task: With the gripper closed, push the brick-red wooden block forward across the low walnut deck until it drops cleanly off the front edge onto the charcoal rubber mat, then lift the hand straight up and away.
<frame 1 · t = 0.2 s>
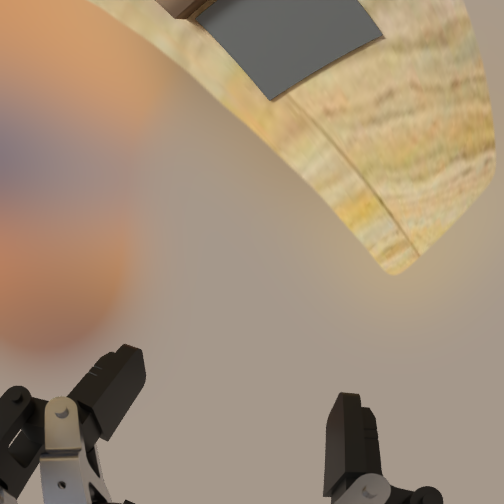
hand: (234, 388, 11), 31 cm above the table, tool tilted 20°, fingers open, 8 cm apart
mat: (287, 18, 24), on the table
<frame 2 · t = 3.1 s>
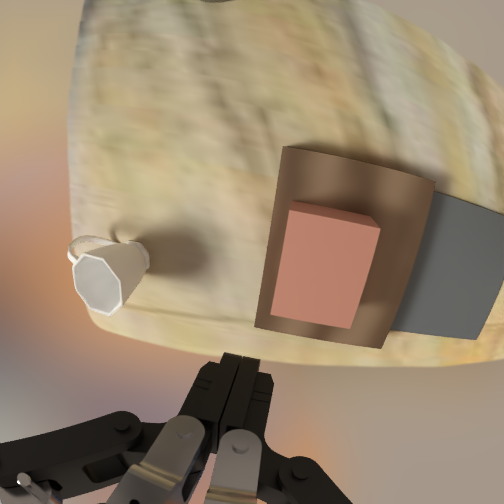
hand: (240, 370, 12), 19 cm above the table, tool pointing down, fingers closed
cup: (126, 250, 34), on the table
block: (321, 256, 26), point 3 cm above the table, touching deck
mat: (460, 275, 27), on the table
deck: (340, 249, 29), on the table
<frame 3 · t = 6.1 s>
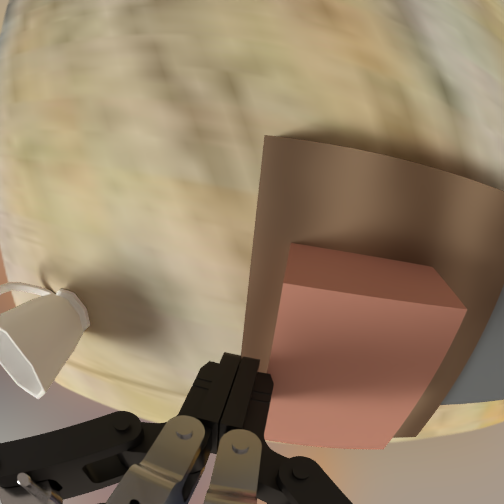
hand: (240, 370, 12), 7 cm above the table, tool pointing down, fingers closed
cup: (61, 300, 22), on the table
block: (343, 336, 14), point 3 cm above the table, touching deck, gripper
deck: (368, 310, 17), on the table
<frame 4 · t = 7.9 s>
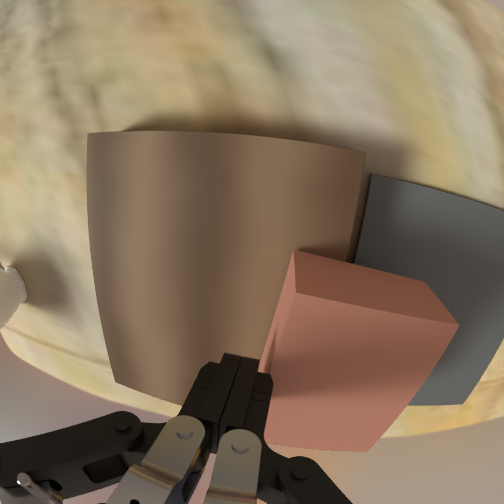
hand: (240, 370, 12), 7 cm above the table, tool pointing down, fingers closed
cup: (9, 276, 24), on the table
block: (334, 342, 15), point 3 cm above the table, touching deck, gripper
mat: (438, 319, 16), on the table
deck: (212, 284, 18), on the table
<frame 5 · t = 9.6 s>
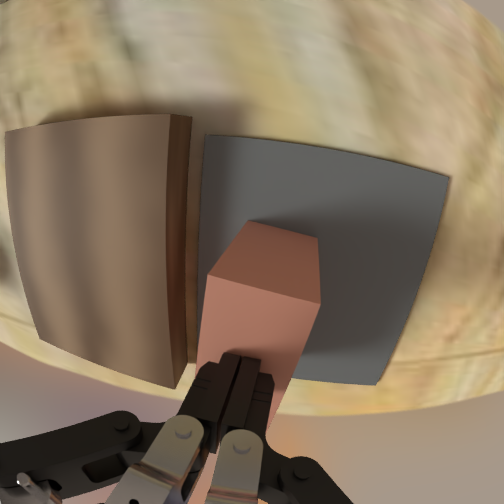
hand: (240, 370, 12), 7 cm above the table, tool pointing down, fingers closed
block: (218, 320, 15), point 4 cm above the table, tilted 88°, touching gripper, mat
mat: (311, 282, 18), on the table
deck: (97, 246, 19), on the table
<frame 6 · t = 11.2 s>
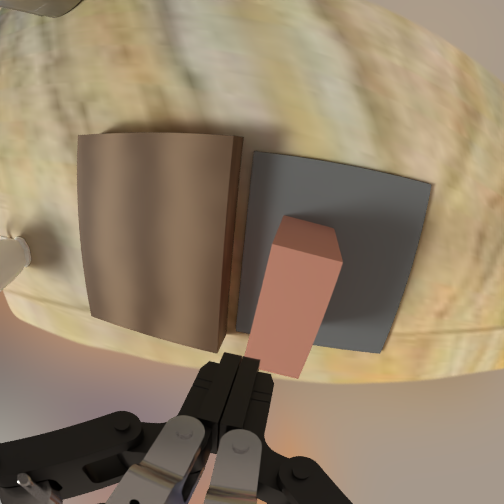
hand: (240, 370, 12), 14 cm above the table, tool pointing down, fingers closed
cup: (18, 245, 31), on the table
block: (264, 286, 21), point 4 cm above the table, tilted 90°, touching mat
mat: (329, 263, 23), on the table
deck: (157, 235, 26), on the table
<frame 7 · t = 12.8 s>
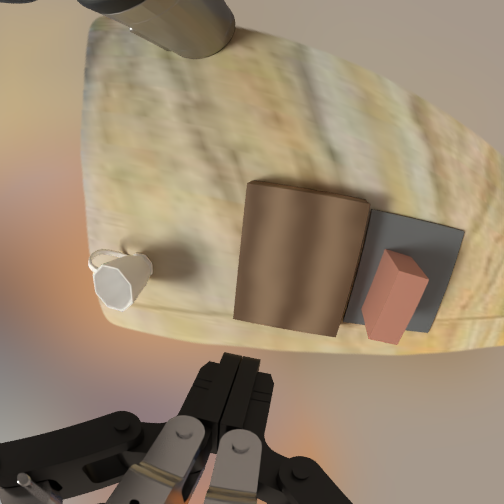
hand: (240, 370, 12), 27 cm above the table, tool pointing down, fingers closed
cup: (134, 260, 43), on the table
block: (378, 292, 33), point 4 cm above the table, tilted 90°, touching mat
mat: (405, 277, 36), on the table
deck: (297, 258, 38), on the table
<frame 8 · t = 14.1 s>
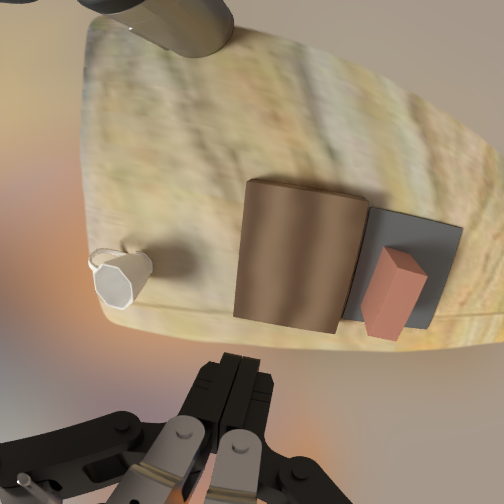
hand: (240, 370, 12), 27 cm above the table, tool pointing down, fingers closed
cup: (134, 259, 43), on the table
block: (376, 289, 33), point 4 cm above the table, tilted 90°, touching mat
mat: (403, 274, 36), on the table
deck: (297, 256, 38), on the table
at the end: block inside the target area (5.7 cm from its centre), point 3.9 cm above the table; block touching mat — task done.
